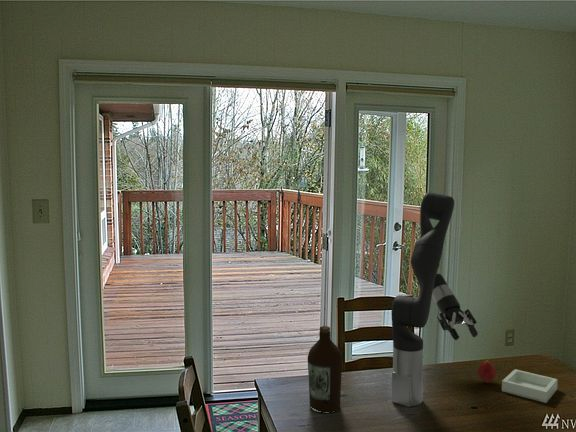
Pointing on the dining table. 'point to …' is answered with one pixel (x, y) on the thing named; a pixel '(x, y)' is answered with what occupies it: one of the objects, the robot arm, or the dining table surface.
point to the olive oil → (325, 373)
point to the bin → (529, 385)
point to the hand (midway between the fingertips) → (466, 337)
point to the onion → (486, 372)
